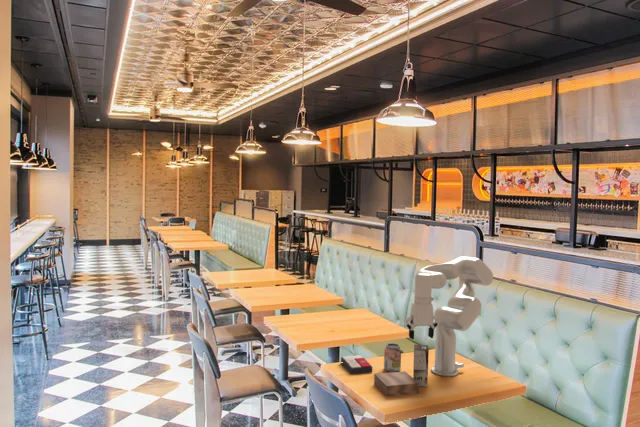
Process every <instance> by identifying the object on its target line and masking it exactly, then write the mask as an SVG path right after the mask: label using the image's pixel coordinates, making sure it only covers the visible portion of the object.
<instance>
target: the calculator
mask: <svg viewBox="0 0 640 427" xmlns="http://www.w3.org/2000/svg"><path fill="white" fill-rule="evenodd" d="M341 362H343V363H341ZM340 364H341V366H342V367H344V368H345V370H346V371H347V372H348V373H349V374H351V375H356V374H358V375H359V374H367V373H369V372H370V373H373V366H372V365H371V363H370V362H368V360H367V359H366V358H365V357H364V356H362V355H361V354H359V355H358V354H356V355H346V356H341V357H340Z"/></svg>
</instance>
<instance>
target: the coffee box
mask: <svg viewBox="0 0 640 427" xmlns="http://www.w3.org/2000/svg"><path fill="white" fill-rule="evenodd" d="M413 345H414V346H413V348H414V349H413V373H412V374H413V375H412V377H413V378H414V379H415V380H416V381H417V382H419V387H428V378H429V353H430V352H429V350H430V349H429V345H427V344H413Z"/></svg>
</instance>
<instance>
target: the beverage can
mask: <svg viewBox="0 0 640 427" xmlns="http://www.w3.org/2000/svg"><path fill="white" fill-rule="evenodd" d="M383 354H384V355H383V368H384V370H385V371H386V372H388V373H392V372H400V370H401V366H402V354H404V350H403V349H401V345H400V344H399V343H398V344H397V343H395V342H391V343H390V342H389V343H386V345H385V348H384V351H383Z"/></svg>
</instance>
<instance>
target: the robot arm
mask: <svg viewBox="0 0 640 427" xmlns="http://www.w3.org/2000/svg"><path fill="white" fill-rule="evenodd" d="M457 278H458V279H459V280H458V283H459V284H458V285H459V286H458V288H457V289H456V291H455V292H454V293H453V294H452V295H451V297H450V298H449V299H448V302H447V306H439V307H437V308H436V309H435V310H434V307H433V306H434V305H433V303H432V302H433V301H434V297H432V294H433V293H432V292H433V289H437V290H440V289H443V288H444V287H445V286H446V284H447V281H451V280H452V281H453V280H455V279H457ZM493 280H494V274H493V272H492V269H491V268H490V267H489V266H488V265H487V264H486V263H485V262H484V261H483V260H482V259H480V258H478V257H472V256H465V255H464V256H462V255H461V256H457V257H455V258H453V259H452V260H450V261H446V262H443V263H438V264H433V265H427V266H425V267H423V268H421V269H419V270H418V271H417V272H416V274H415V277H414V296H413V297H414V298H413V300H414V302H412V304H411V307H410V312H409V317H407V318H405V319H404V320H403V322H404V324H405V326H406V327H407V329H408V337H409V339H411V340H414V339H415V330H414V329H415V328H416V327H428V334H427V335H428V338H430V339H434V335H435V344H434V346H435V347H434V348H435V350H434V366H432V367H431V368H430V369H431V370H430V371H431V372H432V373H433V374H435V375H438V376H441V377H455V376H458V374H459V370H458V369H461V368H465V365H464V363H459V362H457V361H456V350H457V349H456V347H457V346H456V344H457V336H456V332H455V330H456V331H460V332H464V331H467V330H468V329H469V328H470V327H471V326H472V325H473V324H474V322H475V321H476V319H477V318H478V317H479V315H480V314H481V311H482V302H481V300H480V299H478V297H475V290H474V288H473V286H472V285H473V284H474V285H480V286H490V284H492V283H493Z"/></svg>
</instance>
